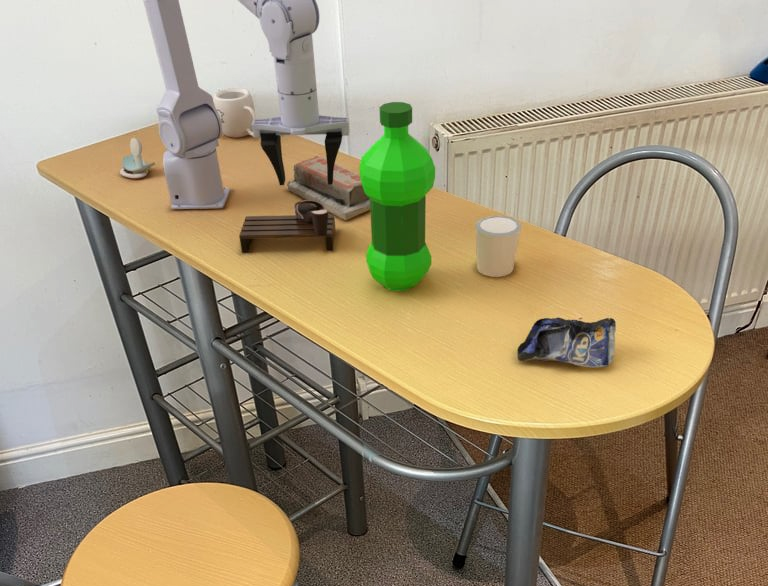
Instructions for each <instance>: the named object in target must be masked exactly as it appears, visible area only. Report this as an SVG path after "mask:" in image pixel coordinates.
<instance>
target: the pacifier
mask: <svg viewBox="0 0 768 586" xmlns="http://www.w3.org/2000/svg"><path fill="white" fill-rule="evenodd" d="M129 150H130V153H131V154H127V155H125V156H124V157H123V158H122V160H121V164H122V168H121V169H120V170H119V173H120V175H121V176H122V177H125V178H127V179H128V178H129V179H142V178H145V176H147V174H148V173H149V171H148V169H150V168H152V167H153V166H155V165H156V162H154V161H153V162H151V163H146V161H145V160H144V159H143V157H142V153H143V145H142V142H141V141H140V140H139V139H138V138H136V137H132V138H131V139H130V141H129ZM128 171H129V172H132V173H128Z"/></svg>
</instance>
